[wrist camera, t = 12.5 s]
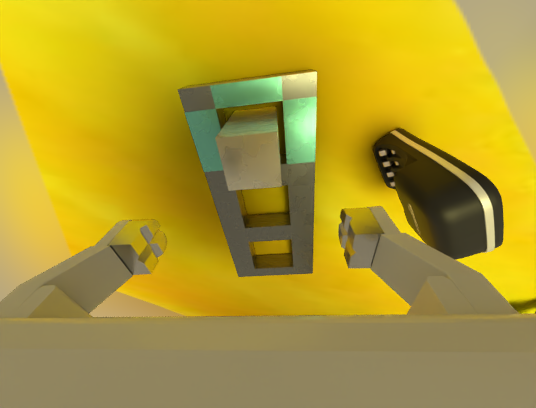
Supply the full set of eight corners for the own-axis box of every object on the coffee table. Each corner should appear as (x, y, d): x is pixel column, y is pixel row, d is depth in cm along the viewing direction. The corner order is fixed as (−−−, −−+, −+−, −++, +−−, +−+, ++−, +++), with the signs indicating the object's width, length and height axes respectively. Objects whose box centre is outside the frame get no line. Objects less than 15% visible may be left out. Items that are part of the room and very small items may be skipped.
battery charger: (361, 144, 21) (428, 213, 12) (399, 123, 20) (508, 183, 11) (381, 192, 25) (445, 275, 15) (415, 176, 23) (508, 257, 14)
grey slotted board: (310, 259, 32) (312, 274, 30) (240, 263, 33) (238, 277, 31) (311, 69, 18) (317, 71, 15) (188, 85, 18) (177, 89, 16)
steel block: (279, 147, 22) (281, 186, 15) (242, 150, 22) (228, 190, 15) (276, 106, 19) (277, 131, 13) (234, 110, 20) (215, 137, 13)
